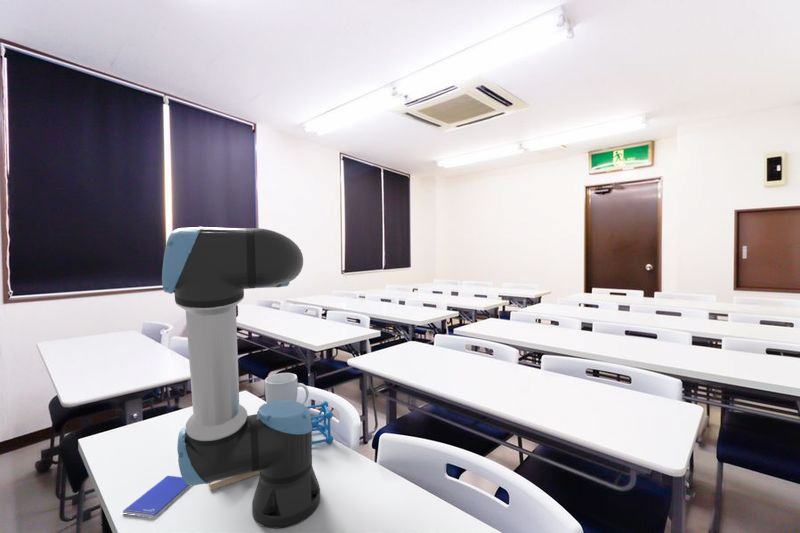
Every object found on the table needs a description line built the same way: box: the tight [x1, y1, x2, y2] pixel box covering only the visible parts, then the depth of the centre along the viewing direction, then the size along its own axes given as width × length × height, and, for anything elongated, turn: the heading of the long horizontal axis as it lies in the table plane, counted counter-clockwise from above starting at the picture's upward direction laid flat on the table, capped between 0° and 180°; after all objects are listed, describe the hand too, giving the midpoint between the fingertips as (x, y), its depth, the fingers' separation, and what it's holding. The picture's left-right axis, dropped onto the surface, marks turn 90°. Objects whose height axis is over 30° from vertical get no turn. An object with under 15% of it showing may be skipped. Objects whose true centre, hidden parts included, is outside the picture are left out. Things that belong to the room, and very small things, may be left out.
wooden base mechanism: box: [208, 470, 260, 491], centre depth 101 cm, size 23×12×6 cm, turn 35°
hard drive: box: [122, 475, 192, 519], centre depth 86 cm, size 2×8×12 cm
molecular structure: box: [306, 400, 334, 445], centre depth 111 cm, size 10×10×10 cm
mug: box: [264, 372, 310, 405], centre depth 129 cm, size 15×11×13 cm
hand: (227, 379), depth 113 cm, fingers closed
